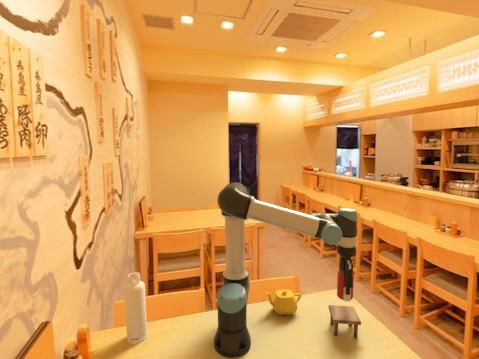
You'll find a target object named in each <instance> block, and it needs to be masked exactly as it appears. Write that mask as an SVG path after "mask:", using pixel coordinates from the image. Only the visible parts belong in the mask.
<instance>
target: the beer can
mask: <svg viewBox="0 0 479 359" xmlns="http://www.w3.org/2000/svg"><path fill="white" fill-rule="evenodd" d="M336 279H337V283H336V296H337V297H338V299H340V300H342V301H343V294H344V287H343V285H345V283H344V270H343V268H341V269H339V268H338V272H337V278H336ZM354 280H355V277H354V274H353V286H354V283H355V282H354ZM353 299H354V287H353V288H351V299H350V301H351V300H353Z"/></svg>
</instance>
